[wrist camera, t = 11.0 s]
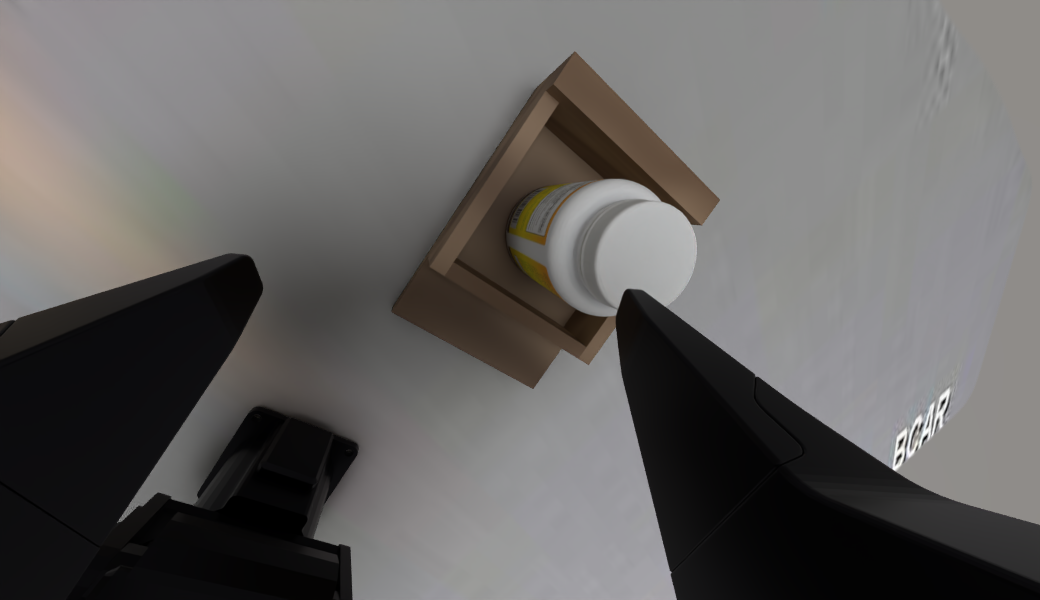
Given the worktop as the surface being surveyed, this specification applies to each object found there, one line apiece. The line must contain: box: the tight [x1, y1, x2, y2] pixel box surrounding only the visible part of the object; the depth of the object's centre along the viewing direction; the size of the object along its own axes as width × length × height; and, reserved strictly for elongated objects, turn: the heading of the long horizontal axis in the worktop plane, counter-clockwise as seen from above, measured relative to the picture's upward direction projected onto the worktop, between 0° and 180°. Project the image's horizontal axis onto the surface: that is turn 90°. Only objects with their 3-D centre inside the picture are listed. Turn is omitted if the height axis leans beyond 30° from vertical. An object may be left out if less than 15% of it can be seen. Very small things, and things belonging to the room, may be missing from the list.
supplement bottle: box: [506, 179, 697, 317], centre depth 17 cm, size 6×6×10 cm
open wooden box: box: [392, 52, 720, 389], centre depth 20 cm, size 15×10×6 cm
